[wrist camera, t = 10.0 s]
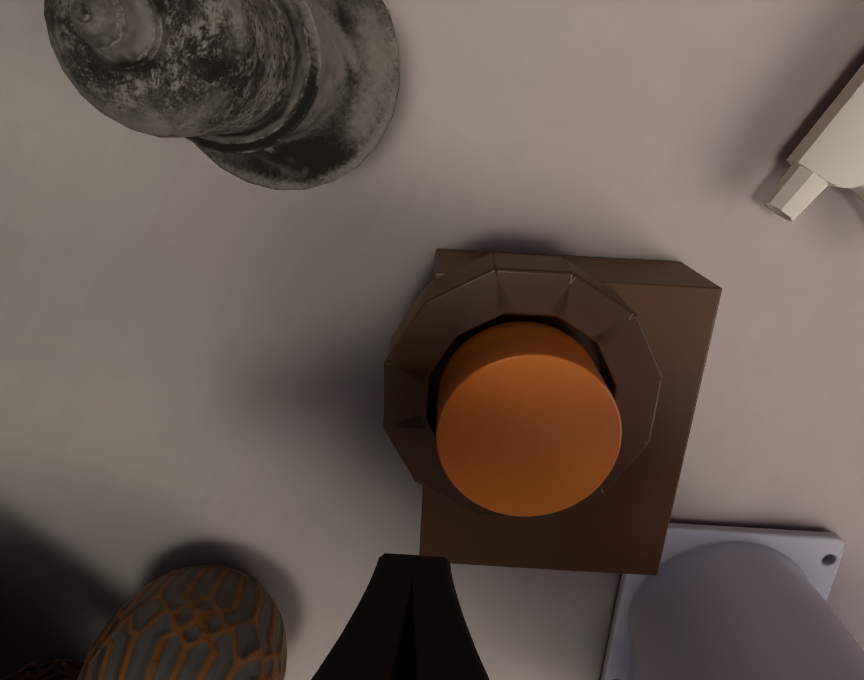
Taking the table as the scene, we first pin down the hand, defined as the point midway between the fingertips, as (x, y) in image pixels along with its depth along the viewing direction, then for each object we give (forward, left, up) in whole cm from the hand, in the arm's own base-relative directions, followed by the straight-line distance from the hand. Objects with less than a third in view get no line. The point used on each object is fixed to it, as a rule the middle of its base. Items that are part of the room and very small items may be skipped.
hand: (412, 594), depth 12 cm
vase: (-10, +8, -10) cm, 17 cm away
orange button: (+2, -2, -5) cm, 6 cm away
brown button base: (0, -4, -10) cm, 11 cm away
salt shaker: (+10, +4, -10) cm, 15 cm away
